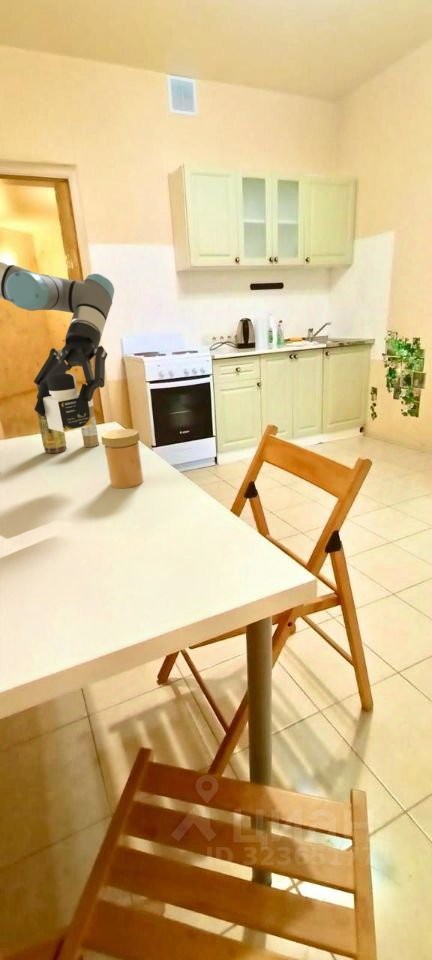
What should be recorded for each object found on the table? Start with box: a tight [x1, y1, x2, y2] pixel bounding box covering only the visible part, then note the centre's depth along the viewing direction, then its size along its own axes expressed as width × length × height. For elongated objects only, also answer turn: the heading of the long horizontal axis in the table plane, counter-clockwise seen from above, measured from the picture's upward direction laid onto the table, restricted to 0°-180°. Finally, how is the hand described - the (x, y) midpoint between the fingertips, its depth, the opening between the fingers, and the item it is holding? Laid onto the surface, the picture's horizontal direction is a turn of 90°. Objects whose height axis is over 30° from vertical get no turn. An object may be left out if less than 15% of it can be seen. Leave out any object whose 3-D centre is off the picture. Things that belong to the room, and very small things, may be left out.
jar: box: [104, 441, 144, 489], centre depth 98 cm, size 7×7×10 cm
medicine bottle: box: [43, 372, 92, 433], centre depth 99 cm, size 7×7×12 cm
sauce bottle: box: [36, 383, 67, 454], centre depth 124 cm, size 7×6×20 cm
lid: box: [101, 428, 140, 447], centre depth 96 cm, size 8×8×2 cm
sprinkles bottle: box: [80, 399, 100, 448], centre depth 129 cm, size 5×5×13 cm
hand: (59, 412), depth 97 cm, fingers closed on medicine bottle, 9 cm apart
